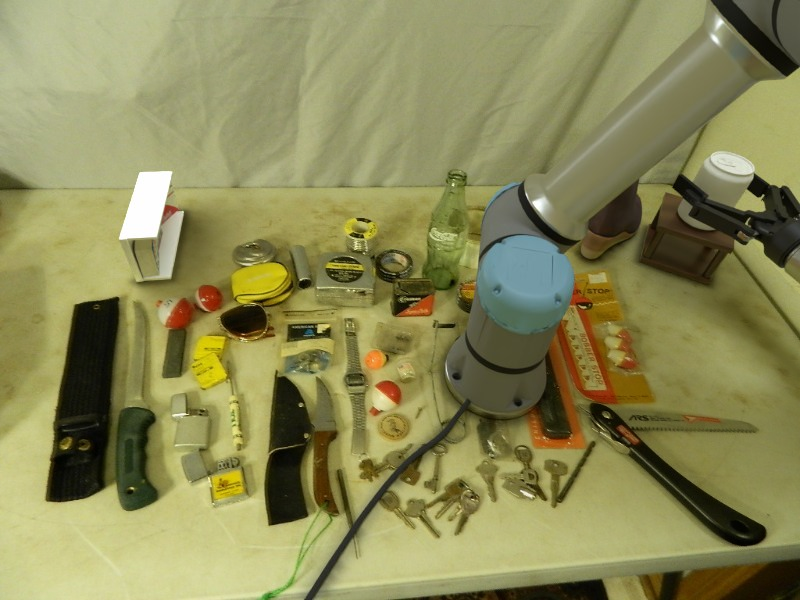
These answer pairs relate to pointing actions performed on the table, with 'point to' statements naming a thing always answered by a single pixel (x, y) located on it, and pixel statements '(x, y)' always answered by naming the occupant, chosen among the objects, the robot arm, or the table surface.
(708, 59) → the robot arm
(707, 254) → the rack
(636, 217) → the boot
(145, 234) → the cigarette display
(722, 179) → the beverage can
